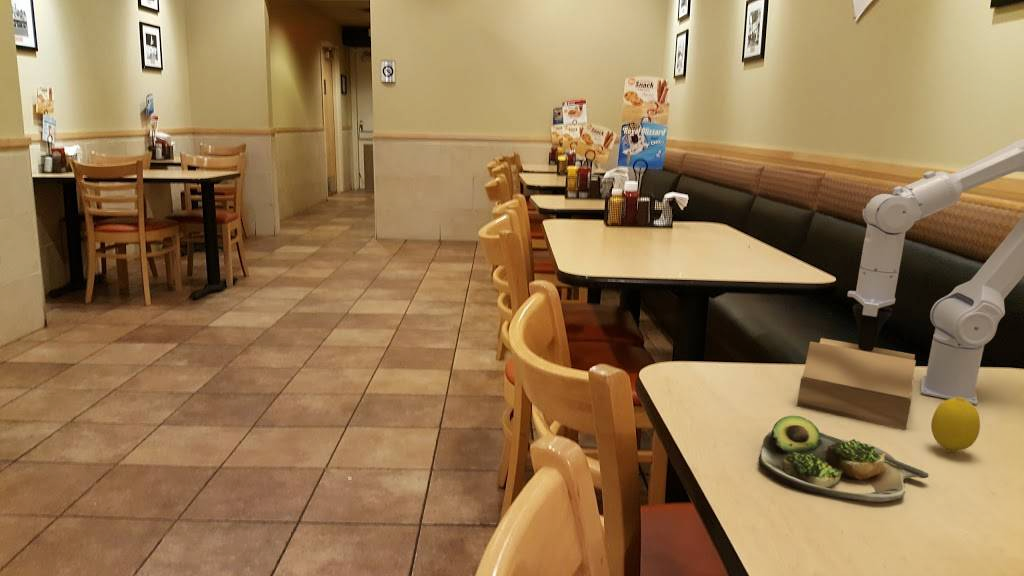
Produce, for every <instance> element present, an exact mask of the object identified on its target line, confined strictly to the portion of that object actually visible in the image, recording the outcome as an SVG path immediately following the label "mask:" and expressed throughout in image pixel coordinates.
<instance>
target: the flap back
mask: <svg viewBox="0 0 1024 576" xmlns="http://www.w3.org/2000/svg"><path fill="white" fill-rule="evenodd" d="M819 343H821V344H827V345H833V346H838V347H844V348H849V349H855V350H860V351H866V352H872V353H877V354H883V355H888V356H894V357H899V358H905V359H910V360H916V359H915V358H916V357H915V356H916V354H915V353H914V354H913V353H908V352H903V351H896V350H893V349H891V350H890V349H886V348H881V347H880V348H879V347H876V346H874V348H873V350H872V351H869V350H863V349H859V347H858V343H851V342H846V341H841V340H835V339H830V338H829V339H828V338H823V337H821V338H820V341H819Z"/></svg>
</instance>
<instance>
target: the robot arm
mask: <svg viewBox="0 0 1024 576" xmlns="http://www.w3.org/2000/svg"><path fill="white" fill-rule="evenodd" d="M1017 172H1018V173H1019V172H1020V173H1024V138H1022V139H1019V140H1016V141H1014V142H1013V143H1011V144H1009V145H1008V146H1005V147H1003V148H1001V149H999V150H998V151H995V152H994V153H991V154H989V155H987V156H985V157H984V158H981V159H979V160H978V161H975V162H973V163H971V164H969V165H967V166H965V167H963V168H961V169H959V170H957V171H954V172H953V173H949V172H946V171H941V170H940V171H936V172H935V171H934V170H928V171H927V172H926V171H925V173H923V174H922V176H923V178H921V179H918V180H916V181H914V182H912V183H909V184H907V185H905V186H901V185H898V186H895V187H894V188H893V192H892V194H890V193H880V194H877V195H875V196H873V197H872V198H871V199H870V200H869V202H867V204H866V207H865V208H863V209H862V217H863V219H864V222H865V223H866V230H865V236H864V239H863V240H864V241H863V247H862V253H861V258H860V259H861V260H860V265H859V270H858V271H859V272H858V278H857V284H856V290H849V291H848V292H847V297H848V298H854V299H855V300H856V301H857V302H858V303H856V304H854V305H853V307H852V312H853V315H854V318H855V321H856V327H857V344H858V347H859V349H863V350H869V351H872V350H873V348H874V347H876V343H877V341H878V338H879V335H880V332H881V330H882V329H883V327H884V324H885V323H886V321H888V319H889V318H890V317H891V316H892V313H893V312H892V311H893V308H892V307H890V306H891V305H894V304H895V303H896V297H895V295H896V290H897V284H898V279H899V273H900V266H901V262H902V256H903V249H904V243H905V237H906V232H908V231H909V230H911V228H912V227H913V226H914V224H915V222H918V221H919V220H923V219H924V218H927V217H928V216H931V215H933V214H935V213H938V212H940V211H942V210H944V209H947V208H949V207H952V206H954V205H956V204H957V203H959V202H958V201H960V197H961V196H962V194H963V193H964V192H967V191H969V190H972V189H974V188H978V187H979V186H983V185H985V184H987V183H990V182H993V181H995V180H997V179H999V178H1000V179H1001V178H1003V177H1005V176H1008V175H1010V174H1013V173H1017ZM1023 277H1024V215H1023V216H1022V218H1021V219H1020V220H1019V221H1018V222H1017V224H1016V225H1015V226H1014V227H1013V229H1011V231H1010V232H1009V233H1008V235H1007V236H1006V237H1005V238H1004V240H1003V241H1002V242H1000V244H999V245H998V246H997V248H996V249H995V251H993V252H992V254H991V255H990V256H989V258H988V259H987V260H986V262H984V263H983V265H982V266H981V267H980V269H978V271H977V272H976V273H975V275H973V277H972V278H971V279H970V280H968V281H966V282H964V283H961V284H959V285H957V286H955V287H954V289H953V290H952V291H951V292H950V293H949V294H947V295H945V296H944V297H943V296H942V298H940V299H938V300H936V301H935V302H934V304H933V305H932V307H931V310H930V313H929V314H930V315H929V318H930V321H931V323H932V325H933V326H934V327H935V329H934V334H933V338H932V342H931V347H930V352H929V357H928V363H927V368H926V374H925V375H922V376H921V384H920V386H921V387H920V393H921V394H922V395H926V396H931V397H936V398H941V399H946V400H948V399H953V398H957V397H963V398H964V399H965V400H966V401H968V402H969V403H971V404H972V405H978V403H979V402H978V395H977V387H976V385H977V381H978V377H979V373H980V366H981V363H982V362H981V361H982V357H983V353H984V349H985V345H987V344H988V343H989V342H991V340H992V339H993V338H994V337H995V335H996V332H997V329H998V324H999V322H1000V321H1001V319H1002V318H1003V317H1004V316H1005V314H1006V310H1005V308H1006V307H1005V298H1007V297H1008V295H1009V294H1010V292H1012V290H1013V289H1014V288H1015V287H1016V286H1017V284H1019V282H1020V281H1021V280H1022V279H1023Z"/></svg>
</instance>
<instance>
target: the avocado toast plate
mask: <svg viewBox="0 0 1024 576" xmlns="http://www.w3.org/2000/svg"><path fill="white" fill-rule="evenodd" d="M760 451H761V452H760V454H759V457H758V464H759V466H760V467H761V468H762V470H763V471H764V472H765V474H767V476H769V477H770V478H772V479H773V480H775V481H777V482H779V483H780V484H783V485H784V486H788V487H790V488H794V489H797V490H800V491H804V492H807V493H813V494H818V495H824V496H829V497H834V498H837V499H839V498H840V499H844V500H845V499H846V500H853V501H860V502H869V503H884V502H889V501H893V500H897V499H901V498H902V497H904V496H905V493H906V491H905V484H904V481H905V479H907V478H908V479H909V478H918V479H927V478H929V473H928V472H926V471H923V470H922V469H919V468H916V467H914V466H912V465H909V464H906V463H904V462H902V461H898V460H896V458H895V457H893V455H891V454H890V453H888V452H886V451H885V450H883V449H881V448H880V447H877V446H874V445H873V444H869V443H865V442H861V441H859V440H857V439H855V438H853V439H851V440H849V439H844V438H838V437H834V436H832V435H827V434H825V433H823V432H820V430H819V429H818V428H817V426H816V425H815V424H814V423H813V422H812V421H811V420H810V419H807V418H805V417H802V416H799V415H787V416H784V417H781V418H780V419H778V421H776V422H775V424H774V425H773V426H772V430H771V431H769V432H768V433H767V434H766V435H765V436H764V437H763V441H762V447H761V450H760ZM841 481H843V482H845V481H846V482H851V481H852V482H853V481H854V482H857V483H862V484H863V483H864V484H865V483H867V484H869V485H871V487H872V488H873V490H874V491H873V492H869V493H868V492H867V493H863V492H862V493H856V492H849V491H843V490H838V489H834V488H832V487H833V486H835V485H836V484H837V483H840V482H841Z"/></svg>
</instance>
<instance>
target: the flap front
mask: <svg viewBox="0 0 1024 576" xmlns="http://www.w3.org/2000/svg"><path fill="white" fill-rule="evenodd" d="M916 362H917V361H916V359H914V360H910V359H905V358H899V357H894V356H888V355H883V354H877V353H872V352H866V351H860V350H855V349H849V348H844V347H838V346H833V345H827V344H821V343H820V342H815V341H810V342H809V346H808V351H807V356H806V360H805V365H804V370H803V374H802V376H803V377H805V378H810V379H815V380H820V381H825V382H829V383H834V384H839V385H844V386H849V387H854V388H859V389H864V390H869V391H874V392H879V393H884V394H889V395H894V396H899V397H904V398H909V397H910V392H911V386H912V380H913V377H914V374H915V368H916ZM913 381H914V380H913Z"/></svg>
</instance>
